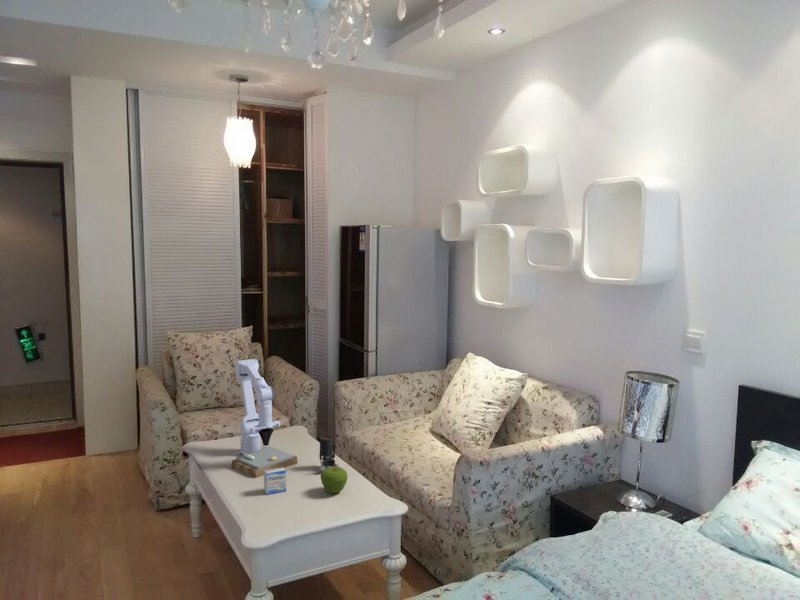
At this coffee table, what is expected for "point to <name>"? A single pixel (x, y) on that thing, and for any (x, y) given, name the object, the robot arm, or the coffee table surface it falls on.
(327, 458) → the scope
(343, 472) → the apple
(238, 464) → the walnut base
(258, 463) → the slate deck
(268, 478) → the medicine box
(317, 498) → the coffee table surface
